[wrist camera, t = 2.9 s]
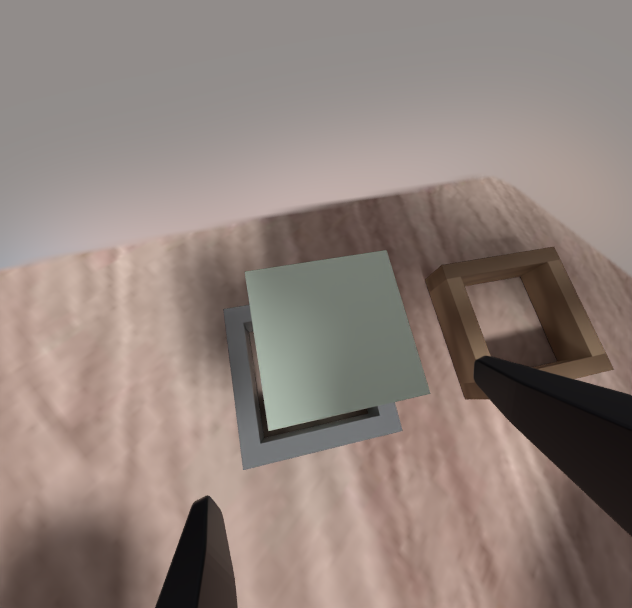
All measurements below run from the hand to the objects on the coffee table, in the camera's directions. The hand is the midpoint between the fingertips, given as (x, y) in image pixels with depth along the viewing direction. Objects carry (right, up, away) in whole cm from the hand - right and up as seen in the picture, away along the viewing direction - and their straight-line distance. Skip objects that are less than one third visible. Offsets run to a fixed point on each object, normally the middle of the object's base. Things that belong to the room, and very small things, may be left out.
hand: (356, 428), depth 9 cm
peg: (-2, -1, +10) cm, 10 cm away
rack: (+12, +2, +12) cm, 17 cm away
